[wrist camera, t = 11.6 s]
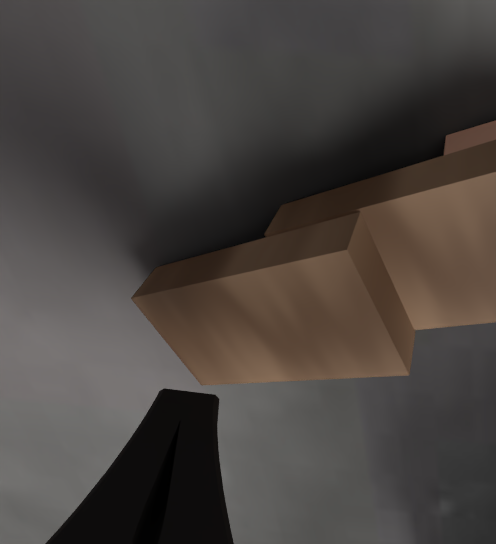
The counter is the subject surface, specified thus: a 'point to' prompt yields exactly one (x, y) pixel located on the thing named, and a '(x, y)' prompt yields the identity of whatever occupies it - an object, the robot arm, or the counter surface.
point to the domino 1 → (283, 308)
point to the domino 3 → (470, 137)
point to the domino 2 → (424, 232)
